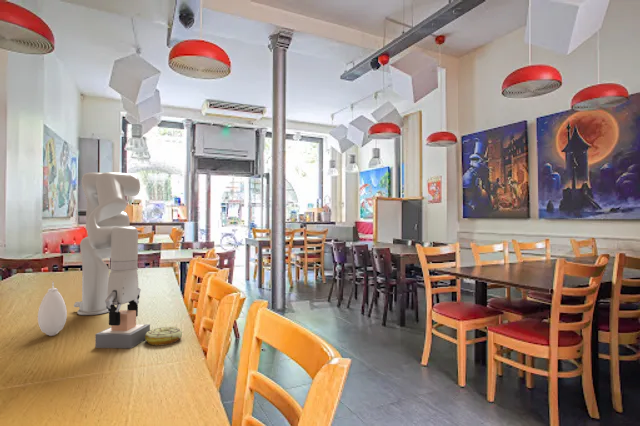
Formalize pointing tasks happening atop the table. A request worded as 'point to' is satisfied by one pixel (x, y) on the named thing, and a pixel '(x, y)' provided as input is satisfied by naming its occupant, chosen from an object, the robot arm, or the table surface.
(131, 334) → the grey flat square block
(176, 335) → the decorated donut
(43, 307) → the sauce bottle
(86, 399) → the table surface
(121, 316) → the terracotta cube
